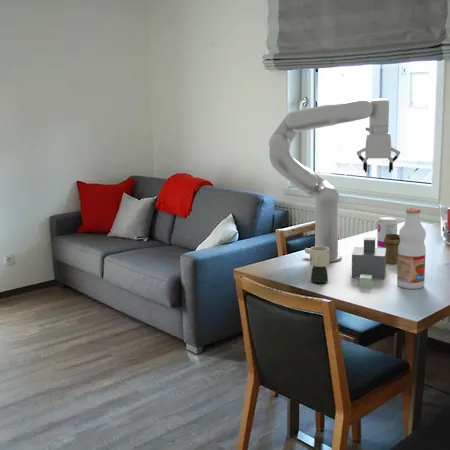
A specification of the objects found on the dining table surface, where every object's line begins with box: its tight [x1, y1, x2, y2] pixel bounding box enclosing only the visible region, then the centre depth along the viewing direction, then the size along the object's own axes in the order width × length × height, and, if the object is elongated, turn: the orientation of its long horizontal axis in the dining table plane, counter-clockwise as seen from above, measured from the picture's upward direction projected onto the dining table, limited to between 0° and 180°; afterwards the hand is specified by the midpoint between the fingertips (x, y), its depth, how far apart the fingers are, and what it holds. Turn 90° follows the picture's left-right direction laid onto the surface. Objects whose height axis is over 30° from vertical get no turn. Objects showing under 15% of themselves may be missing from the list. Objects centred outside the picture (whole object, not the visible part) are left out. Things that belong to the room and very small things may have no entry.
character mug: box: [309, 245, 330, 284], centre depth 224 cm, size 11×7×13 cm, turn 156°
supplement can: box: [376, 216, 398, 248], centre depth 263 cm, size 8×8×15 cm
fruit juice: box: [396, 207, 427, 290], centre depth 215 cm, size 9×9×28 cm
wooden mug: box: [383, 233, 400, 265], centre depth 246 cm, size 9×14×18 cm, turn 60°
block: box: [359, 274, 373, 290], centre depth 218 cm, size 4×4×4 cm
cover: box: [351, 236, 387, 280], centre depth 232 cm, size 12×12×14 cm
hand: (377, 172), depth 249 cm, fingers open, 9 cm apart
